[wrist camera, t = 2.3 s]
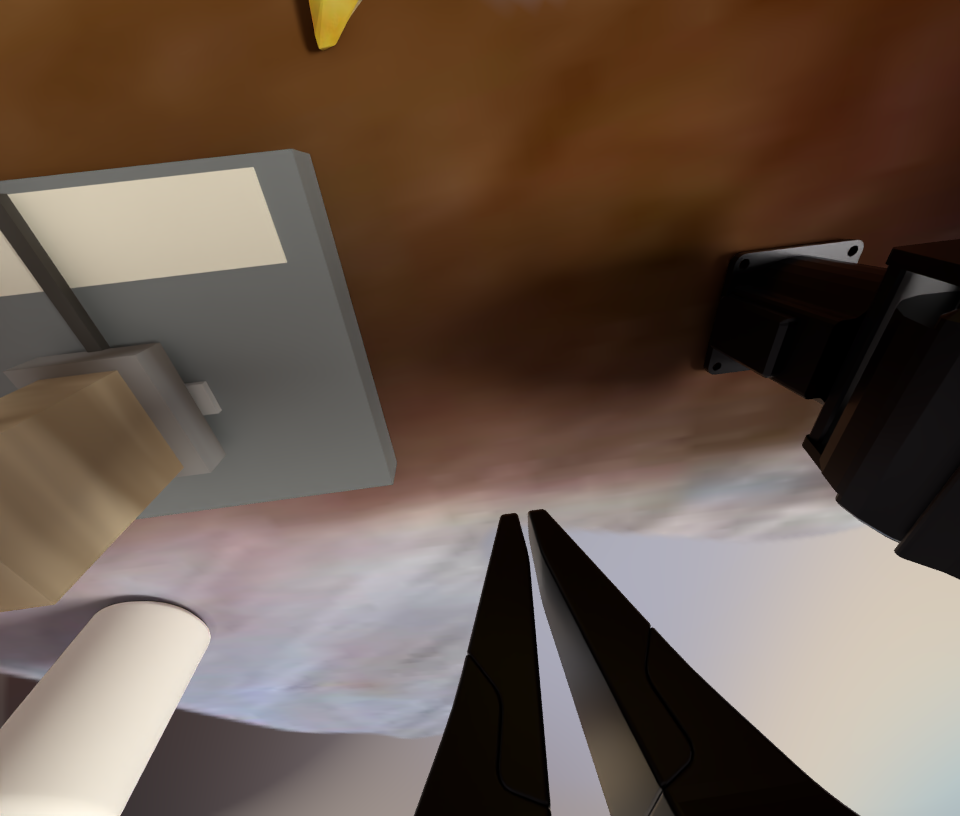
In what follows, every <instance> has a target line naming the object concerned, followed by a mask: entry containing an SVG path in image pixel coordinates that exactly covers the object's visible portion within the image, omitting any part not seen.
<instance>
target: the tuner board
mask: <svg viewBox="0 0 960 816" xmlns="http://www.w3.org/2000/svg"><path fill="white" fill-rule="evenodd" d="M0 194H7V195H8V196H9V198H10V199H11V201H12V202H13V204H14V205H15V207H16V208H17V210H18V211H19V213H20V214H21V216H22V217H23V219H24V220H25V221H26V223H27V224H28V226H29V227H30V229H31V230H32V232H33V233H34V235H35V236H36V238H37V239H38V241H39V242H40V244H41V245H42V247H43V248H44V250H45V251H46V253H47V254H48V256H49V257H50V259H51V260H52V262H53V263H54V265H55V266H56V267H57V269H58V270H59V272H60V273H61V275H62V276H63V278H64V279H65V281H66V282H67V284H68V285H69V287H70V288H71V290H72V291H73V293H74V294H75V296H76V297H77V299H78V300H79V302H80V303H81V305H82V306H83V308H84V309H85V311H86V312H87V314H88V315H89V316H90V318H91V319H92V321H93V322H94V324H95V325H96V327H97V328H98V330H99V331H100V333H101V334H102V336H103V337H104V339H105V340H106V342H107V343H108V345H109V346H110V348H118V347H126V346H134V345H142V344H150V343H159V342H160V344H161V345H162V347H163V349H164V350H165V352H166V354H167V355H168V357H169V359H170V360H171V362H172V364H173V365H174V367H175V369H176V371H177V372H178V374H179V376H180V377H181V379H182V381H183V382H184V384H185V386H186V387H187V389H188V391H189V392H190V394H191V396H192V398H193V399H194V401H195V403H196V404H197V406H198V408H199V409H200V411H201V413H202V414H203V416H204V418H205V419H206V421H207V423H208V425H209V426H210V428H211V430H212V431H213V433H214V435H215V436H216V438H217V440H218V441H219V443H220V445H221V446H222V448H223V450H224V451H225V453H226V455H225V456H224V458H223V459H222V460H221V461H220V462H219V464H218V465H217V466H216V467H215V468H214V470H213V471H212V472H211V473H205V474H198V475H190V476H183V477H175V478H174V479H173V480H172V481H171V482H170V483H169V484H168V485H167V486H166V487H165V488H164V489H163V490H162V491H161V492H160V493H159V495H158V496H157V497H156V498H155V499H154V500H153V501H152V502H151V503H150V504H149V505H148V506H147V507H146V508H145V509H144V510H143V511H142V513H141V514H140V515H139V516H138V517H137V518H136V519H142V518H150V517H157V516H164V515H172V514H179V513H187V512H194V511H201V510H209V509H216V508H224V507H231V506H238V505H246V504H253V503H261V502H268V501H275V500H283V499H290V498H297V497H305V496H312V495H320V494H327V493H334V492H342V491H349V490H357V489H364V488H371V487H379V486H386V485H393V482H394V476H395V471H396V465H397V461H396V458H395V454H394V451H393V447H392V444H391V440H390V437H389V433H388V429H387V426H386V422H385V419H384V415H383V412H382V408H381V405H380V401H379V398H378V394H377V391H376V387H375V383H374V380H373V376H372V373H371V369H370V366H369V362H368V359H367V355H366V352H365V348H364V344H363V341H362V337H361V334H360V330H359V327H358V323H357V320H356V316H355V313H354V309H353V306H352V302H351V298H350V295H349V291H348V288H347V284H346V281H345V277H344V274H343V270H342V267H341V263H340V260H339V256H338V252H337V249H336V245H335V242H334V238H333V235H332V231H331V228H330V224H329V221H328V217H327V214H326V210H325V206H324V203H323V199H322V196H321V192H320V189H319V185H318V182H317V178H316V175H315V171H314V167H313V164H312V160H311V157H310V154H308V153H304V152H301V151H297V150H294V149H286V150H277V151H268V152H259V153H250V154H241V155H232V156H223V157H214V158H205V159H196V160H187V161H178V162H169V163H160V164H151V165H142V166H133V167H124V168H115V169H106V170H96V171H87V172H78V173H69V174H60V175H51V176H42V177H33V178H24V179H15V180H6V181H0ZM77 352H86V349H85V348H84V347H83V345H82V344H81V342H80V341H79V340H78V338H77V337H76V335H75V334H74V333H73V331H72V330H71V328H70V327H69V326H68V324H67V323H66V321H65V320H64V319H63V317H62V316H61V314H60V313H59V312H58V310H57V309H56V307H55V306H54V305H53V303H52V302H51V300H50V299H49V298H48V296H47V295H46V293H45V292H44V291H43V289H42V288H41V286H40V285H39V284H38V282H37V281H36V279H35V278H34V277H33V275H32V274H31V272H30V271H29V270H28V268H27V267H26V265H25V264H24V263H23V261H22V260H21V258H20V257H19V256H18V254H17V253H16V251H15V250H14V249H13V247H12V246H11V244H10V243H9V242H8V240H7V239H6V237H5V236H4V235H3V233H2V232H1V230H0V398H1V397H3V396H5V395H8V394H10V393H12V392H14V391H16V390H18V389H17V388H16V386H15V385H14V384H13V383H12V382H11V381H10V380H9V378H8V377H7V376H6V375H5V374H4V373H3V371H6V370H8V369H10V368H13V367H15V366H18V365H20V364H23V363H25V362H28V361H30V360H33V359H35V358H38V357H45V356H53V355H61V354H69V353H77Z"/></svg>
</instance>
